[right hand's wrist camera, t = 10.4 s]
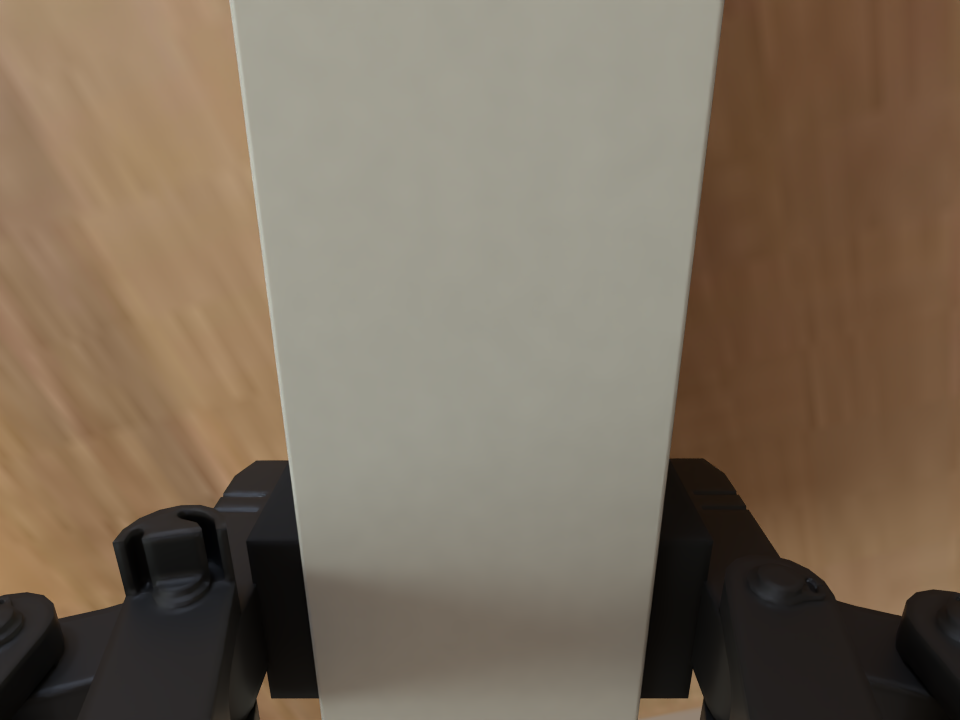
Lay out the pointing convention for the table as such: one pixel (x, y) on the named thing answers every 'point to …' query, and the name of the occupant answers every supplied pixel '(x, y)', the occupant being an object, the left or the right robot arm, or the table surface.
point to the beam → (478, 333)
